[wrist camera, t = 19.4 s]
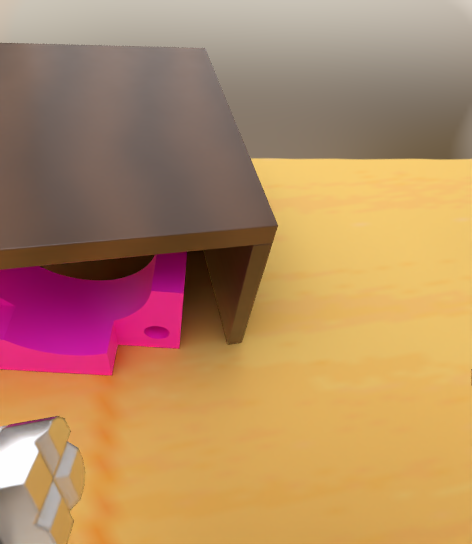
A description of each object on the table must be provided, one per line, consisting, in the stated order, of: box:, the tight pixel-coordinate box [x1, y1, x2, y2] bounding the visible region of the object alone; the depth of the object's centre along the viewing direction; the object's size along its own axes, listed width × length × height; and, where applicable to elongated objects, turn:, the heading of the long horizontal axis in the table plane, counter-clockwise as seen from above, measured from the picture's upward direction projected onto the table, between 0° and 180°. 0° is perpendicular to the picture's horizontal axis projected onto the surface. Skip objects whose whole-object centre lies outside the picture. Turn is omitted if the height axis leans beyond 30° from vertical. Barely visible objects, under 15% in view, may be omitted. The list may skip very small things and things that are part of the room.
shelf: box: [0, 43, 278, 344], centre depth 31 cm, size 23×20×14 cm
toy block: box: [0, 252, 187, 375], centre depth 29 cm, size 15×6×8 cm, turn 90°
